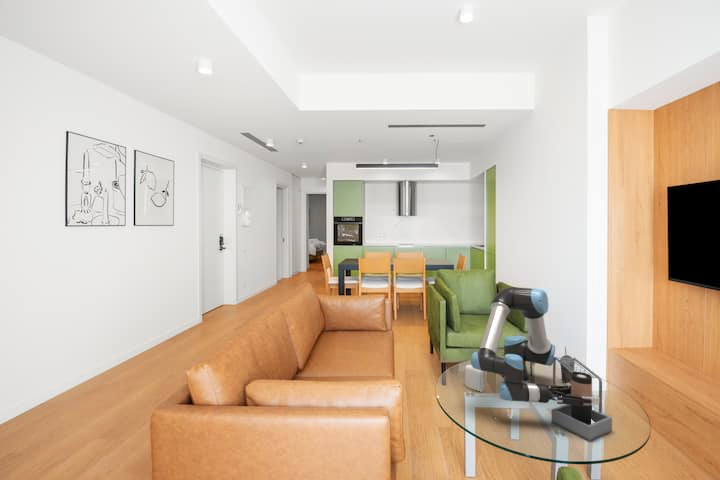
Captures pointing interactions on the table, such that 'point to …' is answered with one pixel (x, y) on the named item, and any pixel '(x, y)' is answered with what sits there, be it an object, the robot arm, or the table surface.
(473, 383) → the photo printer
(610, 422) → the crate
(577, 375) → the travel mug
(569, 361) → the beverage cup
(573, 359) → the newton's cradle
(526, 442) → the table surface
